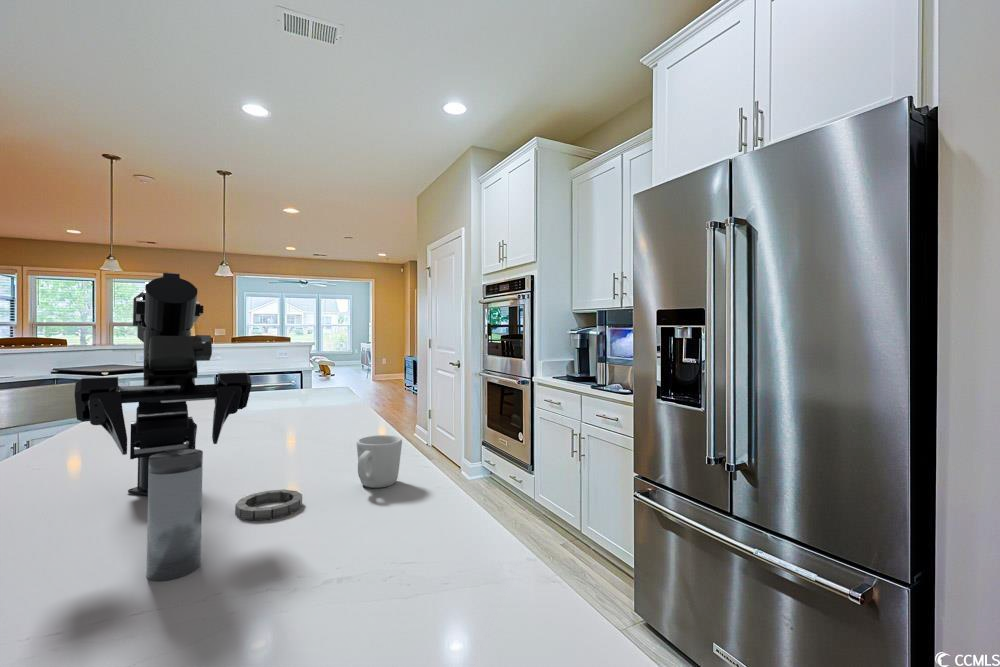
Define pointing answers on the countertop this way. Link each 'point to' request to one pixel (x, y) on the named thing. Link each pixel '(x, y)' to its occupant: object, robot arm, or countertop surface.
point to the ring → (266, 513)
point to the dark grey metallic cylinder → (174, 514)
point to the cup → (378, 460)
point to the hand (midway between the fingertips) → (172, 447)
